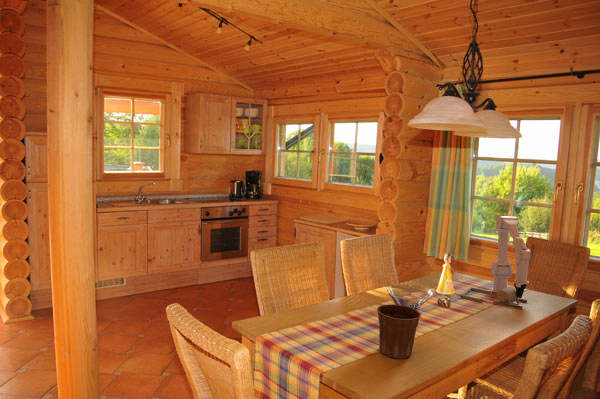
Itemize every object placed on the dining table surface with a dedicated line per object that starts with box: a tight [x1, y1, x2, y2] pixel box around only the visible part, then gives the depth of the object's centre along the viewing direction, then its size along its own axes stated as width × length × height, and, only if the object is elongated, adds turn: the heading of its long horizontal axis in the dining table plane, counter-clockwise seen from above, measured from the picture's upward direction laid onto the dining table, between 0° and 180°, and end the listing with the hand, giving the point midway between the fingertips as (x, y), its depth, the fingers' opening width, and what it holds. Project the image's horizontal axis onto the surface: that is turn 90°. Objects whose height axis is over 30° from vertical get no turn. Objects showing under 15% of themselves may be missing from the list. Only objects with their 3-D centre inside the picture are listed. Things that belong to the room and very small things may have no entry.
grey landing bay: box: [460, 286, 493, 303], centre depth 247 cm, size 20×12×2 cm, turn 144°
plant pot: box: [376, 303, 422, 360], centre depth 170 cm, size 16×16×16 cm
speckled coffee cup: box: [496, 286, 520, 306], centre depth 236 cm, size 11×8×8 cm
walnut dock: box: [492, 298, 528, 310], centre depth 237 cm, size 15×14×2 cm
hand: (519, 297), depth 234 cm, fingers closed
